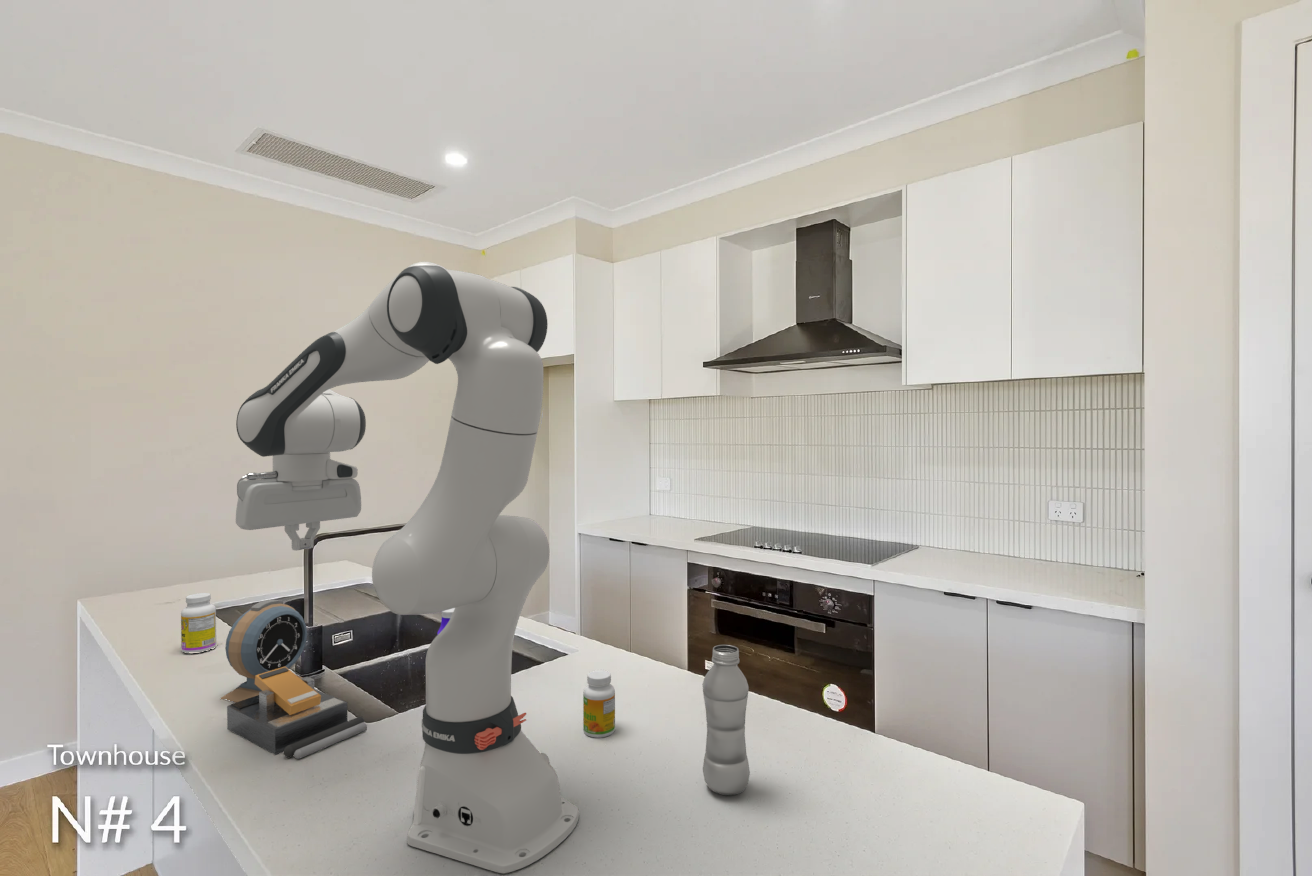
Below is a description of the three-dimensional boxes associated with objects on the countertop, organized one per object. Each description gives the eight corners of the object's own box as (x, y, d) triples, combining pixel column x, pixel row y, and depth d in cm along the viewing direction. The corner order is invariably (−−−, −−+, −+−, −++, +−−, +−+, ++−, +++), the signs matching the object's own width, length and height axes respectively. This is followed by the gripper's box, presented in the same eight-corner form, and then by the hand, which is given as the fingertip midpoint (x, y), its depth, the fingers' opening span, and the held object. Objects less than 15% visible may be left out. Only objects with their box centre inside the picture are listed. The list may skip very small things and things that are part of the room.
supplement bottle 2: (576, 731, 108) (576, 674, 108) (600, 720, 112) (600, 665, 112) (598, 742, 105) (597, 683, 104) (621, 730, 109) (621, 673, 108)
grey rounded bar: (358, 725, 111) (358, 715, 111) (369, 730, 109) (369, 719, 109) (281, 757, 100) (281, 746, 100) (292, 763, 98) (292, 751, 98)
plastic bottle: (738, 807, 86) (738, 660, 86) (694, 792, 90) (694, 651, 90) (757, 784, 92) (757, 646, 92) (714, 771, 95) (714, 638, 95)
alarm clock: (251, 709, 117) (250, 613, 117) (214, 701, 121) (213, 608, 120) (317, 680, 131) (316, 594, 130) (282, 674, 134) (281, 590, 134)
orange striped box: (320, 704, 109) (321, 694, 109) (290, 715, 105) (291, 705, 104) (284, 674, 115) (285, 665, 115) (254, 683, 111) (255, 674, 111)
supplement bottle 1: (185, 647, 150) (184, 593, 150) (219, 643, 153) (218, 590, 153) (178, 657, 144) (177, 600, 144) (213, 652, 147) (212, 597, 147)
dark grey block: (347, 725, 111) (347, 683, 111) (275, 755, 101) (274, 709, 100) (298, 703, 119) (298, 665, 119) (227, 729, 109) (226, 687, 109)
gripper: (246, 474, 101) (247, 561, 101) (365, 467, 118) (366, 542, 118) (227, 472, 104) (228, 557, 105) (346, 466, 122) (346, 538, 122)
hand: (302, 549), depth 112 cm, fingers closed
